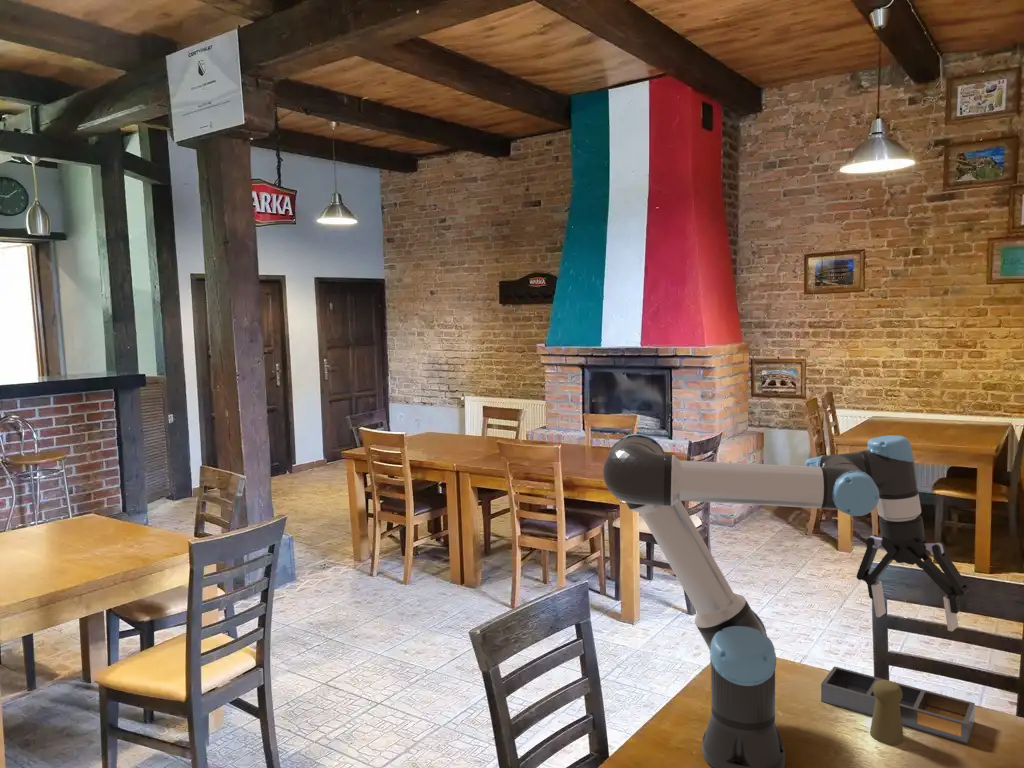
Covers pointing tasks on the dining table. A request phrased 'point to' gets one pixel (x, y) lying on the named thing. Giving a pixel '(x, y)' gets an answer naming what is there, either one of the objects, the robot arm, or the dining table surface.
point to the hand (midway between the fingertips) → (915, 621)
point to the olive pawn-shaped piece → (887, 713)
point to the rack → (902, 704)
